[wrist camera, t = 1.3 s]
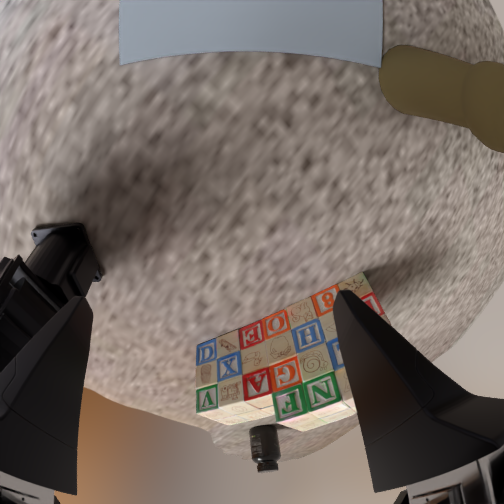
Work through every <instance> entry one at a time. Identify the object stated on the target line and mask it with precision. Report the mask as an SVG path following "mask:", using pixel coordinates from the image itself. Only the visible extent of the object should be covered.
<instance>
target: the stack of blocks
mask: <svg viewBox="0 0 504 504" xmlns="http://www.w3.org/2000/svg"><path fill="white" fill-rule="evenodd" d="M345 289H349V290H351V291H352V292H353V293H355V294H356V295H357V296H358V297H359V298H360V299H362V300H363V301H364V302H365V303H366V304H367V305H368V306H369V307H371V308H372V309H373V310H374V311H375V312H376V313H377V314H378V315H380V316H381V317H382V318H383V319H384V320H385V321H386V322H387V323H389V324H390V325H391V323H390V321H389V319H388V318H387V316H386V315H385V312H384V310H383V309H382V307H381V305H380V303H379V301H378V299H377V298H376V296H375V294H374V292H373V291H372V288H371V287H370V285H369V283H368V281H367V279H366V277H365V275H364V274H363V272H361V273H359V274H357V275H355V276H353V277H351V278H349V279H347V280H345V281H343V282H341V283H339V284H335V285H333V286H331V287H329V288H327V289H325V290H323V291H321V292H319V293H317V294H314V295H312V296H311V297H308V298H306V299H303V300H301V301H299V302H297V303H295V304H293V305H291V306H288V307H286V309H284V310H281V311H279V312H277V313H275V314H272V315H270V316H268V317H266V318H263V319H262V320H259V321H257V322H255V323H252V324H250V325H248V326H245V327H243V328H241V329H239V330H238V329H237V330H235V331H232V332H230V333H227V334H225V335H222V336H220V337H217V338H215V339H212V340H210V341H207V342H205V343H202V344H199V345H197V352H196V376H195V388H196V413H197V414H199V415H201V416H204V417H206V418H209V419H211V420H215V421H218V422H220V423H223V424H226V425H233V424H238V423H242V422H247V421H252V420H256V419H260V418H264V417H268V416H271V415H275V418H276V423H279V424H281V425H284V426H287V427H291V428H294V429H297V430H299V431H306V430H310V429H313V428H316V427H319V426H322V425H325V424H328V423H331V422H335V421H338V420H340V419H343V418H346V417H348V416H351V415H353V414H355V413H357V411H356V407H355V403H354V400H353V396H352V392H351V388H350V384H349V381H348V377H347V374H346V370H345V366H344V363H343V359H342V356H341V352H340V349H339V343H338V338H337V332H336V326H335V321H334V316H333V304H334V301H335V298H336V295H337V292H338V291H339V290H345Z"/></svg>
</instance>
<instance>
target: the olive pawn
mask: <svg viewBox="0 0 504 504" xmlns="http://www.w3.org/2000/svg"><path fill="white" fill-rule="evenodd" d="M379 82H380V86H381V90H382V92H383V94H384V96H385V98H386V100H387V101H388V102H389V103H390V104H391V106H392V107H393V108H394V109H396V110H398V111H399V112H401V113H403V114H408V115H414V116H419V117H424V118H429V119H433V120H438V121H442V122H446V123H451V124H454V125H458V126H462V127H466V128H469V129H470V130H471V132H472V134H473V135H475V136H476V137H477V138H478V139H479V140H480V141H481V142H482V143H483V144H484V145H485V146H487V147H488V148H490V149H492V150H495V151H498V152H502V153H504V65H503V64H501V63H497V62H491V61H483V62H478V63H477V64H475V65H472V64H470V63H467V62H464V61H461V60H458V59H456V58H452V57H449V56H446V55H443V54H440V53H436V52H433V51H429V50H425V49H421V48H417V47H413V46H408V45H398V46H396V47H393V48H391V49H389V50H388V52H387V53H386V54H385V55H384V56H383V58H382V61H381V68H379Z"/></svg>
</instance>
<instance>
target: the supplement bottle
mask: <svg viewBox="0 0 504 504" xmlns="http://www.w3.org/2000/svg"><path fill="white" fill-rule="evenodd" d="M249 434H250V445H251V454H252V460H253V461H254V462H255V463H257V464H258V466H257V469H258V472H259V473H264V472H273V471H277V470H278V464H277V461H278V460H279V459H280V457H281V454H280V447H279V440H278V433H277V428H276V427H275V426H272V425H263V426H257V427H253V428H251V429H250V431H249Z"/></svg>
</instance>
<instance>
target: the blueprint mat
mask: <svg viewBox="0 0 504 504" xmlns="http://www.w3.org/2000/svg"><path fill="white" fill-rule="evenodd" d="M382 33H383V2H382V0H120V6H119V53H120V65H124V64H129V63H134V62H139V61H144V60H149V59H155V58H162V57H169V56H177V55H185V54H196V53H209V52H234V51H255V52H280V53H293V54H304V55H312V56H320V57H327V58H334V59H340V60H345V61H351V62H356V63H361V64H365V65H370V66H374V67H378V68H381V58H382Z"/></svg>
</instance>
